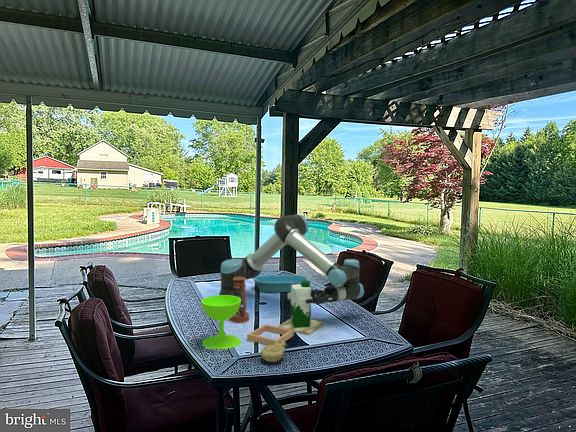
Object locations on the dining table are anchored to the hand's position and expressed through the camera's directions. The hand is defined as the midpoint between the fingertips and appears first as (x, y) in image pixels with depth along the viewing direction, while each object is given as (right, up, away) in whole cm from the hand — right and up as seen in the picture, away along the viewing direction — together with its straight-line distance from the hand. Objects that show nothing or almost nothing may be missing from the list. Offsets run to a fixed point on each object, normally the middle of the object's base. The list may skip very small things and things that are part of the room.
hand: (293, 298), depth 179 cm
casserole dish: (-6, -9, +71) cm, 72 cm away
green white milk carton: (+3, -12, +2) cm, 13 cm away
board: (+4, -13, +3) cm, 14 cm away
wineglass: (-30, -15, -18) cm, 38 cm away
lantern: (-26, -13, +11) cm, 31 cm away
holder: (-10, -14, -11) cm, 21 cm away
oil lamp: (-8, -16, -31) cm, 35 cm away
